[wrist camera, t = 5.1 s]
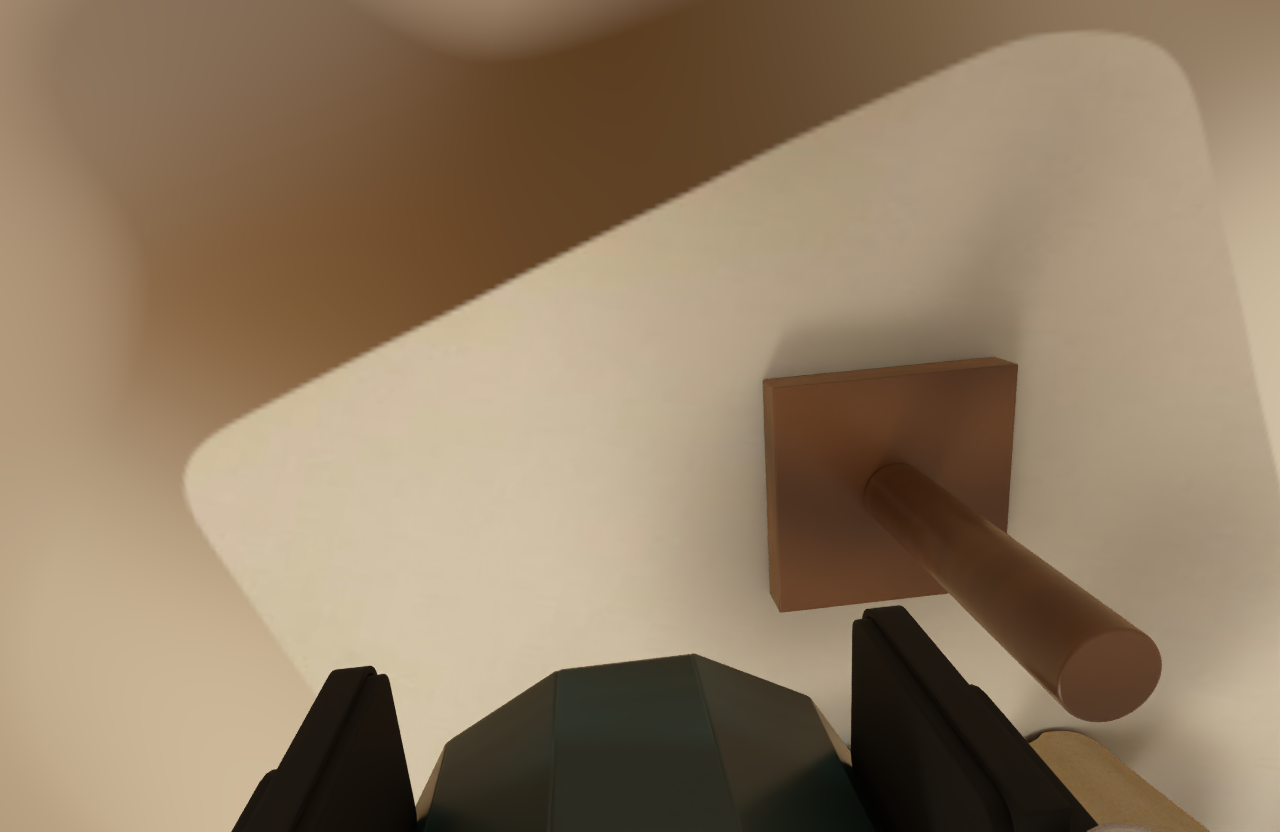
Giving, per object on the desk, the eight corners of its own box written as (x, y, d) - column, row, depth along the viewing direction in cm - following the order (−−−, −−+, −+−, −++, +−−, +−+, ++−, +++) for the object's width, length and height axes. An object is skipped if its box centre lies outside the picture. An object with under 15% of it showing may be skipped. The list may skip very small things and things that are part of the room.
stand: (762, 379, 26) (917, 509, 14) (994, 356, 26) (1342, 463, 14) (769, 593, 28) (907, 865, 16) (982, 569, 29) (1271, 816, 17)
